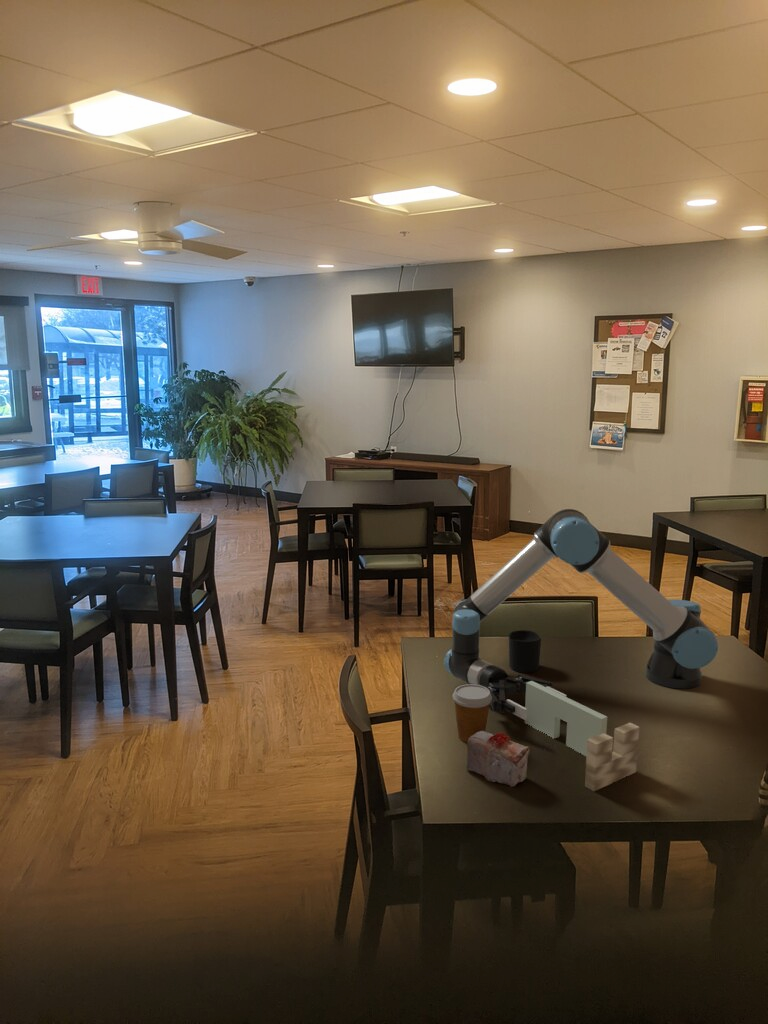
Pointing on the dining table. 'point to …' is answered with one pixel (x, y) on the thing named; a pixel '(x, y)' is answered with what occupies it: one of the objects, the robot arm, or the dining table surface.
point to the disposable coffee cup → (471, 709)
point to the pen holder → (524, 651)
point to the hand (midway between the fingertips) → (546, 707)
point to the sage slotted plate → (562, 716)
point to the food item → (497, 758)
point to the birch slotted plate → (611, 756)
